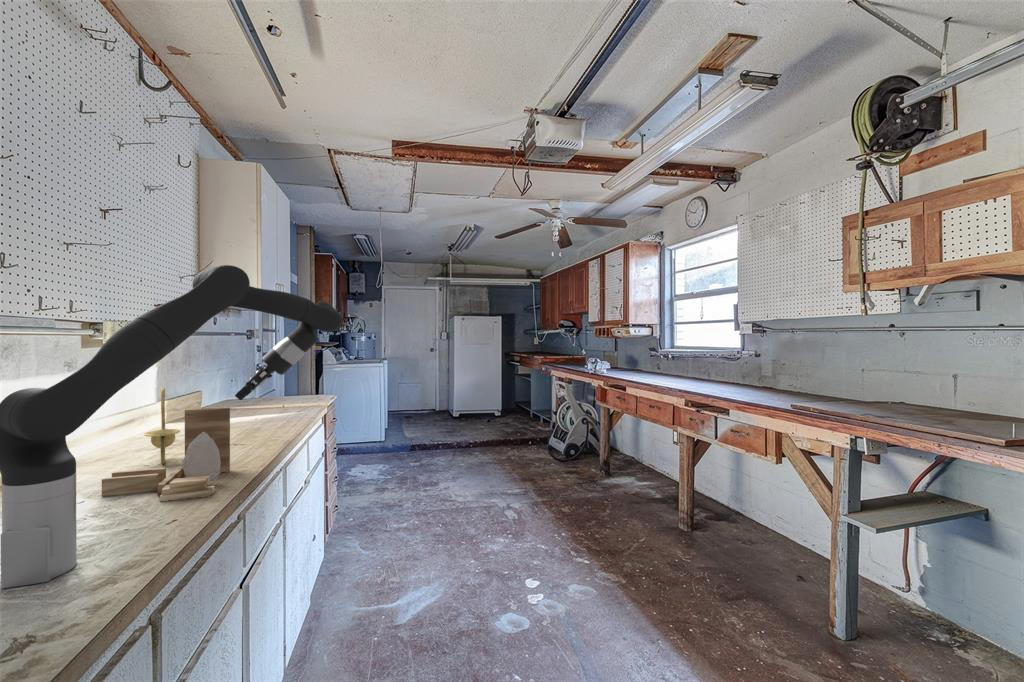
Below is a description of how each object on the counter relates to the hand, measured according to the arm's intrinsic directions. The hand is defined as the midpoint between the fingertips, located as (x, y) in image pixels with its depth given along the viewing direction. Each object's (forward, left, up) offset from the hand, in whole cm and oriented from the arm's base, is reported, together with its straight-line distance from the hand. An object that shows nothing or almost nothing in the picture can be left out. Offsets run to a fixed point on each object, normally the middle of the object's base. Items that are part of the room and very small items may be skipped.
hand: (240, 395), depth 129 cm
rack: (+5, +12, -25) cm, 28 cm away
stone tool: (+2, +10, -26) cm, 27 cm away
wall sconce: (+32, +28, -26) cm, 49 cm away
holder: (+4, +26, -25) cm, 36 cm away
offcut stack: (-7, +11, -25) cm, 28 cm away
